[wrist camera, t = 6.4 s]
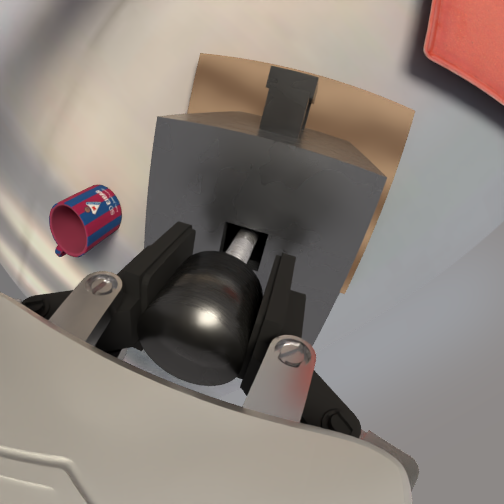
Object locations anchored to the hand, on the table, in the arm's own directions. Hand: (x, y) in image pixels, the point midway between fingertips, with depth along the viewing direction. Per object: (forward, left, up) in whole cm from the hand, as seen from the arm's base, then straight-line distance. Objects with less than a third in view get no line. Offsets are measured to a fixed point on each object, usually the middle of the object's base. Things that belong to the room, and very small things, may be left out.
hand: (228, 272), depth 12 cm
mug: (+11, -22, -19) cm, 31 cm away
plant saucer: (-24, +18, -19) cm, 36 cm away
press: (-2, 0, -17) cm, 17 cm away
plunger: (0, 0, -17) cm, 17 cm away
